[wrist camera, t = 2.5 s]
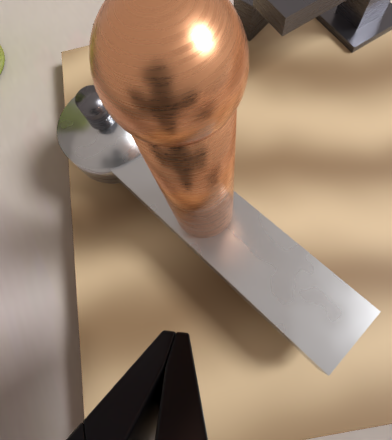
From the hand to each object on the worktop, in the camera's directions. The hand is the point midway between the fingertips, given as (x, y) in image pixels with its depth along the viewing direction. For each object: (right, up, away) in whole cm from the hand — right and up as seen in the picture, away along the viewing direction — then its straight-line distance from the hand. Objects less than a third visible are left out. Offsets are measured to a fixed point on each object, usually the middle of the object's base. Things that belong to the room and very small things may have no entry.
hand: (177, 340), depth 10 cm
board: (+4, +6, +9) cm, 11 cm away
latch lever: (+1, +4, +6) cm, 7 cm away
